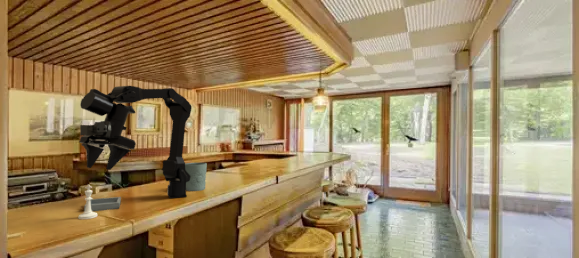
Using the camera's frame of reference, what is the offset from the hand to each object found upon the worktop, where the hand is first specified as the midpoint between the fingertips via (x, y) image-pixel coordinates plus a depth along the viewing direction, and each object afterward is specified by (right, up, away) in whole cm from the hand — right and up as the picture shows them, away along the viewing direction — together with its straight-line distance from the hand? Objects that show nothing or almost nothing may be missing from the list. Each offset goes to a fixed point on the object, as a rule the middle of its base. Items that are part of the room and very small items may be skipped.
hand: (98, 168), depth 87 cm
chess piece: (-4, -15, +1) cm, 16 cm away
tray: (-6, -15, +12) cm, 20 cm away
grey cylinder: (+15, -16, +45) cm, 50 cm away
